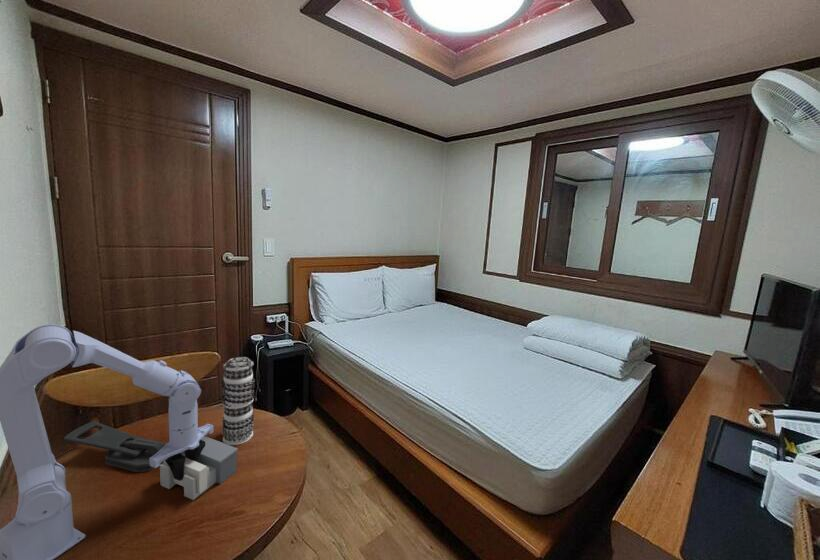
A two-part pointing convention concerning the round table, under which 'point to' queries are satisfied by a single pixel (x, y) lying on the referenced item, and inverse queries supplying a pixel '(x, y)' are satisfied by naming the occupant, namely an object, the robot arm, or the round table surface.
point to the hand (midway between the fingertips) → (184, 474)
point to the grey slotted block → (218, 467)
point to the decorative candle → (238, 400)
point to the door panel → (193, 474)
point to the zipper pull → (118, 446)
